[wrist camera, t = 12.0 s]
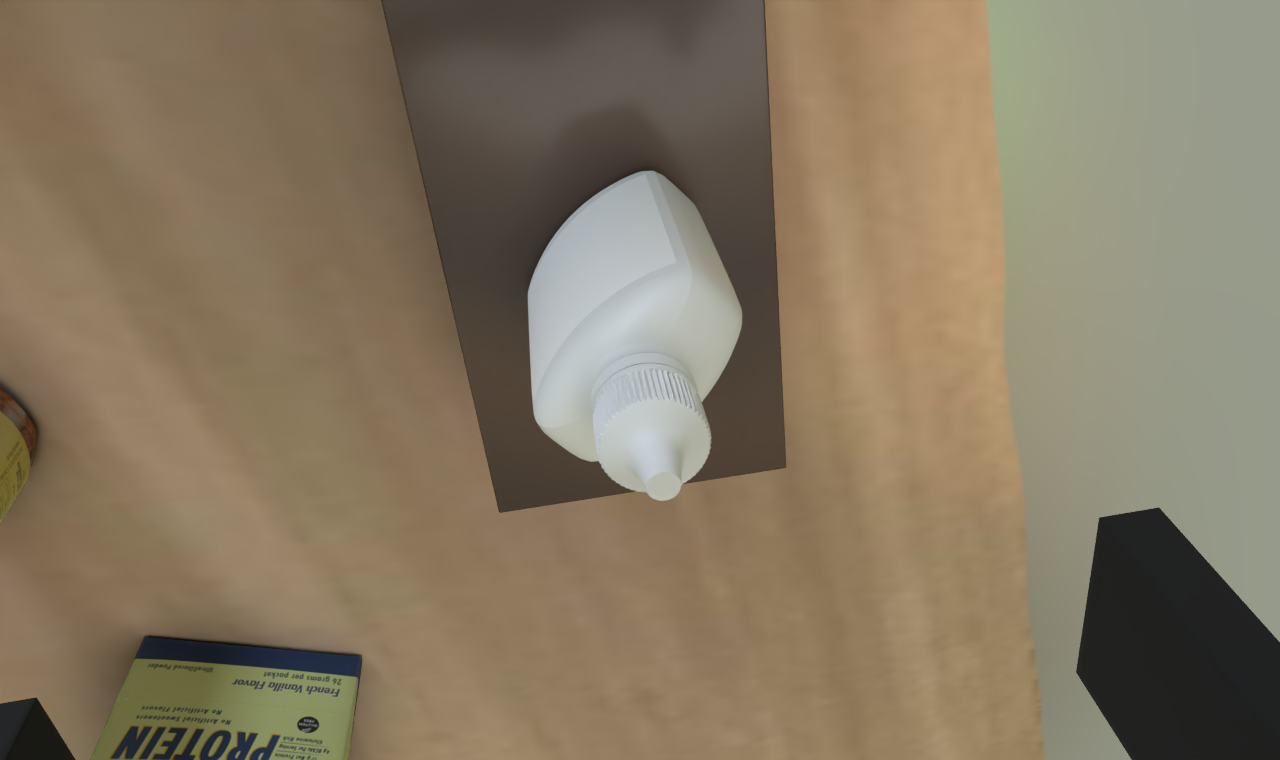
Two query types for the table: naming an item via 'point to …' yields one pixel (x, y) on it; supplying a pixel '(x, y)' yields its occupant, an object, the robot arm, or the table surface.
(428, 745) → the table surface
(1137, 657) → the robot arm
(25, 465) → the sauce bottle
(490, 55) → the dark brown wooden stand
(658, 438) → the eye dropper bottle
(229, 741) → the protein box
